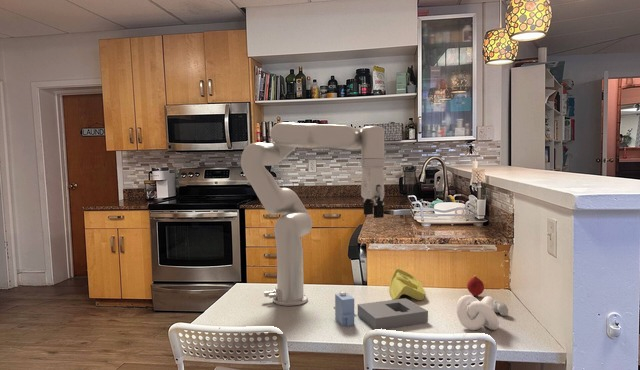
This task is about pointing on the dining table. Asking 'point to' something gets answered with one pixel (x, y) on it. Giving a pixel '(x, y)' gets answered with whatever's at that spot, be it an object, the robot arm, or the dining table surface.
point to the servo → (344, 309)
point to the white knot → (477, 313)
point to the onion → (475, 286)
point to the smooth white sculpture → (500, 308)
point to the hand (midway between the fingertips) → (373, 215)
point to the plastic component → (405, 286)
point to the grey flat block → (392, 313)
